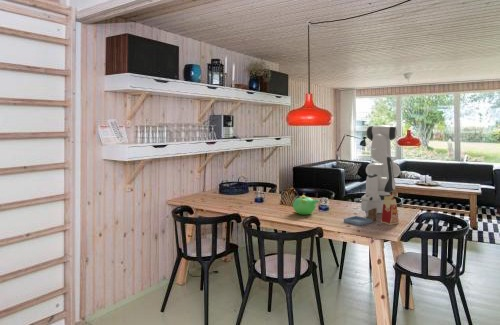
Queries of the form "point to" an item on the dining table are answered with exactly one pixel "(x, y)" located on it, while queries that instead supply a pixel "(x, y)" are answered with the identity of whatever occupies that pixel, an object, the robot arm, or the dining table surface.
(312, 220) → the dining table surface
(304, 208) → the green teapot
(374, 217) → the walnut block
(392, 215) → the milk carton
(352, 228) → the dining table surface
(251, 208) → the dining table surface
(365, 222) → the slate tray
